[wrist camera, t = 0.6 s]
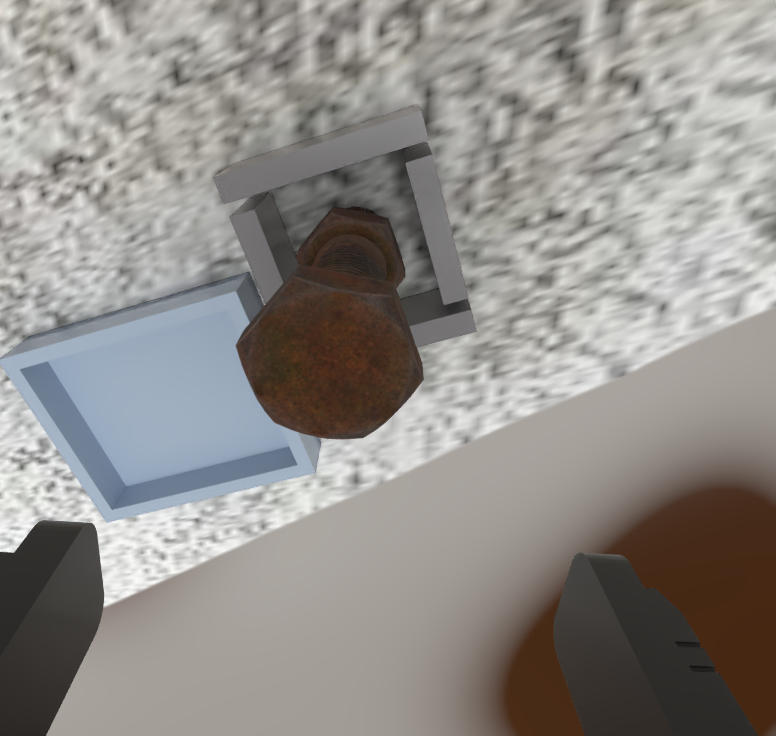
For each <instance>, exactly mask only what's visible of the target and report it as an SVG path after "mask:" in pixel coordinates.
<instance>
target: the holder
mask: <svg viewBox="0 0 776 736" xmlns="http://www.w3.org/2000/svg"><path fill="white" fill-rule="evenodd" d="M428 140H429V139H428V135H427V131H426V127H425V123H424V119H423V115H422V111H421V109H420V107H419V105H418V104H417V105H414V106H411V107H408V108H405V109H401V110H398V111H395V112H392V113H389V114H386V115H383V116H380V117H377V118H374V119H370V120H367V121H364V122H361V123H358V124H355V125H352V126H349V127H346V128H343V129H339V130H336V131H333V132H330V133H327V134H324V135H321V136H318V137H315V138H311V139H308V140H305V141H302V142H299V143H296V144H293V145H290V146H287V147H284V148H280V149H277V150H274V151H271V152H268V153H265V154H262V155H259V156H256V157H253V158H249V159H246V160H243V161H240V162H237V163H234V164H233V165H231V166H230V167H228V168H227V169H225V170H224V171H222V172H220V173H219V174H217V175H216V176H214V177H213V179H214V181H215V184H216V186H217V189H218V191H219V193H220V196H221V198H222V201H223V203H224V204H226V203H230V202H233V201H236V200H239V199H242V198H246V197H249V196H252V195H255V194H258V193H262V192H265V191H268V190H271V189H274V188H278V187H281V186H284V185H287V184H290V183H294V182H297V181H300V180H303V179H306V178H310V177H313V176H316V175H319V174H322V173H326V172H329V171H332V170H335V169H338V168H342V167H345V166H348V165H351V164H354V163H358V162H361V161H364V160H367V159H370V158H374V157H377V156H380V155H383V154H386V153H389V152H393V151H396V150H399V149H402V148H405V147H409V146H412V145H415V144H418V143H421V142H425V141H428ZM404 156H405V164H406V168H407V171H408V175H409V179H410V182H411V186H412V190H413V193H414V197H415V201H416V204H417V208H418V212H419V215H420V219H421V223H422V226H423V230H424V234H425V238H426V241H427V245H428V249H429V252H430V256H431V260H432V263H433V267H434V271H435V274H436V278H437V282H438V285H439V289H436V290H432V291H429V292H425V293H421V294H418V295H414V296H410V297H407V298H403V299H400V301H401V304H402V307H403V310H404V313H405V315H406V318H407V321H408V324H409V327H410V330H411V333H412V335H413V338H414V341H415V344H416V347H420V346H424V345H428V344H431V343H435V342H439V341H443V340H447V339H450V338H454V337H458V336H462V335H466V334H469V333H473V332H477V331H476V327H475V323H474V319H473V315H472V311H471V308H470V305H469V301H468V295H467V291H466V287H465V283H464V279H463V275H462V271H461V267H460V263H459V259H458V255H457V251H456V247H455V243H454V239H453V235H452V231H451V227H450V223H449V219H448V215H447V211H446V207H445V203H444V199H443V195H442V191H441V187H440V183H439V179H438V175H437V171H436V167H435V163H434V159H433V155H432V153H431V150H430V148H429V145H428V143H426V144H423V145H419V146H416V147H413V148H410V149H407V150H404ZM230 220H231V222H232V224H233V227H234V229H235V232H236V234H237V236H238V239H239V241H240V244H241V246H242V248H243V251H244V253H245V256H246V258H247V260H248V263H249V265H250V267H251V270H252V272H253V275H254V277H255V279H256V282H257V284H258V287H259V289H260V291H261V294H262V296H263V299H264V301H265V303H267V302H268V301H269V300H270V298H271V297H272V296H273V295H274V294H275V292H276V291H277V290H278V289H279V288H280V286H281V285H282V284H283V283H284V282H285V281H286V279H287V278H288V277H289V276H290V275H291V273H292V272H293V271H294V270H295V269H296V267H297V266H298V262H297V259H296V257H295V254H294V252H293V249H292V246H291V244H290V241H289V238H288V236H287V233H286V230H285V228H284V225H283V223H282V220H281V217H280V215H279V212H278V209H277V207H276V204H275V201H274V199H273V196H272V194H271V192H269V193H266V194H262V195H259V196H256V197H253V198H250V199H248V200H247V201H246V202H245V203H244V204H243V205H242V206H241V207H240V208H239V209H238V210H237V211H236V212H234V213H233V214H232V215H231V216H230Z"/></svg>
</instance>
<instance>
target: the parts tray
mask: <svg viewBox="0 0 776 736" xmlns="http://www.w3.org/2000/svg"><path fill="white" fill-rule="evenodd" d="M263 307H264V306H263V304H262V301H261V299H260V297H259V294H258V292H257V290H256V287H255V285H254V282H253V280H252V278H251V275H250V273H249V272H247V273H244V274H241V275H237V276H234V277H230V278H227V279H224V280H220V281H217V282H213V283H210V284H207V285H203V286H200V287H196V288H193V289H189V290H186V291H183V292H179V293H176V294H172V295H169V296H166V297H162V298H159V299H155V300H152V301H149V302H145V303H142V304H138V305H135V306H132V307H128V308H125V309H121V310H118V311H114V312H111V313H108V314H104V315H101V316H97V317H94V318H91V319H87V320H84V321H80V322H77V323H74V324H70V325H67V326H63V327H60V328H57V329H53V330H50V331H46V332H43V333H39V334H36V335H33V336H29V337H28V338H26V339H25V340H24V341H22V342H21V343H20V344H18V345H17V346H16V347H14V348H13V349H12V350H11V351H9V352H8V353H7V354H5V355H4V356H3V357H1V358H0V365H1V366H2V367H3V369H4V370H5V372H6V373H7V375H8V376H9V378H10V379H11V381H12V382H13V384H14V385H15V387H16V388H17V390H18V391H19V393H20V394H21V396H22V397H23V399H24V400H25V402H26V403H27V405H28V406H29V408H30V409H31V411H32V412H33V414H34V415H35V417H36V418H37V420H38V421H39V423H40V424H41V426H42V427H43V429H44V430H45V432H46V433H47V435H48V436H49V437H50V439H51V440H52V442H53V443H54V445H55V446H56V448H57V449H58V451H59V452H60V454H61V455H62V457H63V458H64V460H65V461H66V463H67V464H68V466H69V467H70V469H71V470H72V472H73V473H74V475H75V476H76V478H77V479H78V481H79V482H80V484H81V485H82V487H83V488H84V490H85V491H86V493H87V494H88V496H89V497H90V499H91V500H92V502H93V503H94V504H95V506H96V507H97V509H98V510H99V512H100V513H101V515H102V516H103V518H104V519H105V521H106V522H111V521H115V520H119V519H123V518H128V517H132V516H136V515H140V514H144V513H149V512H153V511H157V510H161V509H166V508H170V507H174V506H178V505H182V504H187V503H191V502H195V501H199V500H203V499H208V498H212V497H216V496H220V495H224V494H229V493H233V492H237V491H241V490H245V489H250V488H254V487H258V486H262V485H266V484H271V483H275V482H279V481H283V480H287V479H292V478H296V477H300V476H304V475H308V474H313V473H316V468H317V462H318V457H319V452H320V447H321V441H320V439H319V437H314V436H310V435H305V434H302V433H299V432H295V431H292V430H290V429H288V428H285V427H283V426H281V425H278V424H276V423H274V422H273V421H272V419H271V418H270V417H269V416H268V415H267V414H266V412H265V411H264V410H263V408H262V407H261V405H260V404H259V402H258V400H257V399H256V397H255V394H254V392H253V390H252V388H251V386H250V384H249V382H248V379H247V377H246V375H245V372H244V370H243V368H242V365H241V362H240V358H239V355H238V352H237V349H236V346H235V345H236V343H237V342H238V340H239V338H240V336H241V334H242V332H243V331H244V329H245V328H246V327H247V326H248V325H249V323H250V322H251V321H252V320H253V319H254V317H255V316H256V315H257V314H258V313H259V311H260V310H261V309H262V308H263Z"/></svg>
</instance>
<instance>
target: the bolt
mask: <svg viewBox="0 0 776 736" xmlns="http://www.w3.org/2000/svg"><path fill="white" fill-rule="evenodd" d="M296 257H297V260H298V263H299V265H298V266H297V267H296V269H295V270H294V271H293V272H292V273H291V275H290V276H289V277H288V278H287V279H286V281H285V282H284V283H283V284H282V285H281V286H280V288H279V289H278V290H277V291H276V292H275V294H274V295H273V296H272V297H271V298H270V300H269V301H268V302H267V303H266V304H265V306H264V307H263V308H262V309H261V310H260V311H259V313H258V314H257V315H256V316H255V317H254V319H253V320H252V321H251V322H250V323H249V325H248V326H247V327H246V328H245V329H244V331H243V332H242V334H241V336H240V338H239V340H238V342H237V343H236V345H235V346H236V349H237V352H238V355H239V358H240V362H241V365H242V368H243V370H244V372H245V375H246V377H247V379H248V382H249V384H250V386H251V388H252V390H253V392H254V394H255V397H256V399H257V400H258V402H259V404H260V405H261V407H262V408H263V410H264V411H265V412H266V414H267V415H268V416H269V417H270V418H271V419H272V421H273V422H274V423H276V424H278V425H281V426H283V427H285V428H288V429H290V430H292V431H295V432H299V433H302V434H305V435H310V436H314V437H319V438H326V439H356V438H364V437H365V436H367V435H369V434H370V433H372V432H374V431H375V430H377V429H378V428H379V427H381V426H382V425H383V424H384V423H386V422H387V421H388V420H389V419H390V418H391V417H392V416H393V415H394V414H395V413H396V412H397V411H398V410H399V409H400V408H401V407H402V405H403V404H404V403H405V402H406V401H407V400H408V399H409V398H410V397H411V396H412V394H413V393H414V392H415V390H416V389H417V388H418V386H419V385H420V384H421V382H422V381H423V380H424V379H423V366H422V361H421V358H420V356H419V353H418V350H417V347H416V344H415V341H414V338H413V335H412V333H411V330H410V327H409V324H408V321H407V318H406V315H405V313H404V310H403V307H402V304H401V301H400V298H399V295H398V292H397V290H396V288H397V287H398V285H399V284H400V283H401V282H402V280H403V279H404V278H405V267H404V264H403V261H402V257H401V254H400V251H399V248H398V245H397V242H396V239H395V236H394V233H393V230H392V228H391V225H390V222H389V220H388V218H385V217H381V216H378V215H376V214H375V213H374V212H372V211H370V210H368V209H366V212H365V210H364V209H361V208H360V207H350V208H346V209H344V208H335V207H333V208H332V210H331V211H330V212H329V213H328V214H327V215H326V216H325V217H324V218H323V220H322V221H321V222H320V223H319V224H318V226H317V227H316V228H315V229H314V230H313V232H312V233H311V234H310V235H309V237H308V238H307V239H306V240H305V242H304V243H303V244H302V246H301V247H300V248H299V250H298V252H297V254H296Z"/></svg>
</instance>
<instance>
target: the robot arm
mask: <svg viewBox="0 0 776 736" xmlns="http://www.w3.org/2000/svg"><path fill="white" fill-rule="evenodd" d="M103 604H104V589H103V580H102V572H101V563H100V555H99V546H98V538H97V531H96V528H95V526H94V525H93V524H92V523H83V522H65V521H48V520H43V521H40V522H38V523H37V524H36V525H35V526H34V527H33V529H32V530H31V531H30V533H29V534H28V535H27V537H26V538H25V539H24V540H23V542H22V543H21V544H20V546H19V547H18V548H17V550H16V551H15V552H14V553H8V552H0V736H46V734H47V732H48V730H49V728H50V726H51V724H52V722H53V720H54V718H55V716H56V714H57V712H58V710H59V708H60V706H61V704H62V702H63V700H64V698H65V696H66V694H67V692H68V690H69V688H70V686H71V683H72V681H73V679H74V677H75V675H76V673H77V671H78V669H79V667H80V665H81V663H82V661H83V659H84V657H85V655H86V653H87V651H88V649H89V647H90V644H91V642H92V641H93V638H94V636H95V634H96V632H97V629H98V627H99V623H100V620H101V616H102V611H103ZM554 642H555V649H556V654H557V657H558V660H559V662H560V666H561V668H562V671H563V674H564V677H565V680H566V683H567V686H568V688H569V691H570V694H571V696H572V700H573V703H574V705H575V708H576V711H577V714H578V717H579V720H580V723H581V725H582V728H583V731H584V734H585V736H758V735H757V733H756V732H755V730H754V728H753V727H752V725H751V724H750V722H749V720H748V719H747V717H746V716H745V714H744V712H743V711H742V709H741V708H740V706H739V705H738V703H737V701H736V700H735V698H734V696H733V695H732V693H731V692H730V690H729V688H728V687H727V685H726V683H725V682H724V680H723V679H722V677H721V675H720V674H719V673H716V672H715V666H714V664H713V663H712V661H711V659H710V658H709V656H708V654H707V653H706V651H705V650H704V648H701V647H700V642H699V640H698V638H697V637H696V635H695V634H694V632H693V630H692V629H691V627H690V625H689V624H688V622H687V621H686V619H685V617H684V616H683V614H682V613H681V612H680V611H679V610H678V609H677V608H676V607H674V606H673V605H672V604H671V603H670V602H669V601H668V600H667V599H666V598H665V597H664V596H663V595H662V594H661V593H659V592H658V591H657V590H656V589H651V588H644V587H643V585H642V583H641V582H640V580H639V578H638V576H637V575H636V573H635V571H634V570H633V568H632V566H631V564H630V563H629V561H628V560H627V559H626V558H625V557H624V556H621V555H608V554H591V553H578V554H577V555H576V556H575V557H574V559H573V561H572V564H571V567H570V570H569V574H568V577H567V580H566V583H565V587H564V590H563V593H562V596H561V599H560V603H559V606H558V609H557V612H556V616H555V621H554Z"/></svg>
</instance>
